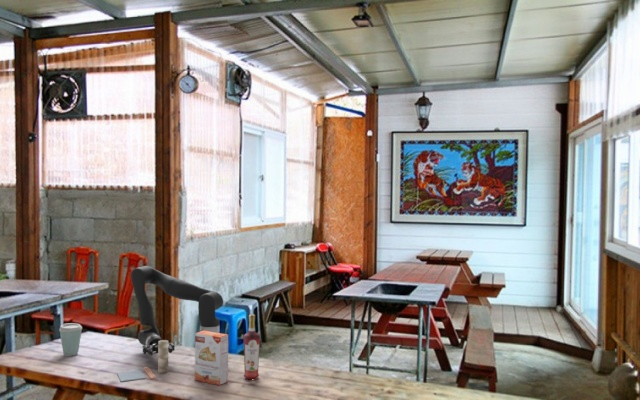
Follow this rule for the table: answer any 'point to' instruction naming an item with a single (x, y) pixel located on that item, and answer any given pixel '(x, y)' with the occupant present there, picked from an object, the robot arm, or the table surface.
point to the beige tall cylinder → (163, 356)
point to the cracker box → (211, 357)
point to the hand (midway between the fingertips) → (161, 352)
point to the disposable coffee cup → (70, 338)
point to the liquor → (251, 350)
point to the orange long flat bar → (149, 373)
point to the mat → (130, 375)
